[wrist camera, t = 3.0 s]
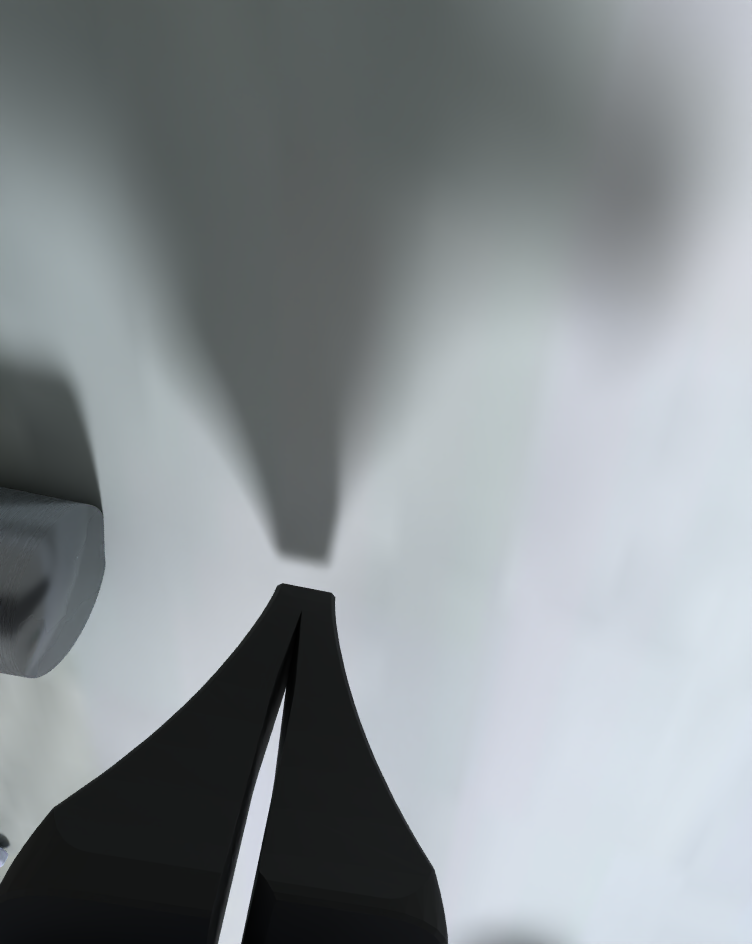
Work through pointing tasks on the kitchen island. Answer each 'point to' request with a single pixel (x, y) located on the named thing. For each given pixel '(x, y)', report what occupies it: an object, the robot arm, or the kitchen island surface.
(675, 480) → the kitchen island surface
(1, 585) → the axle
